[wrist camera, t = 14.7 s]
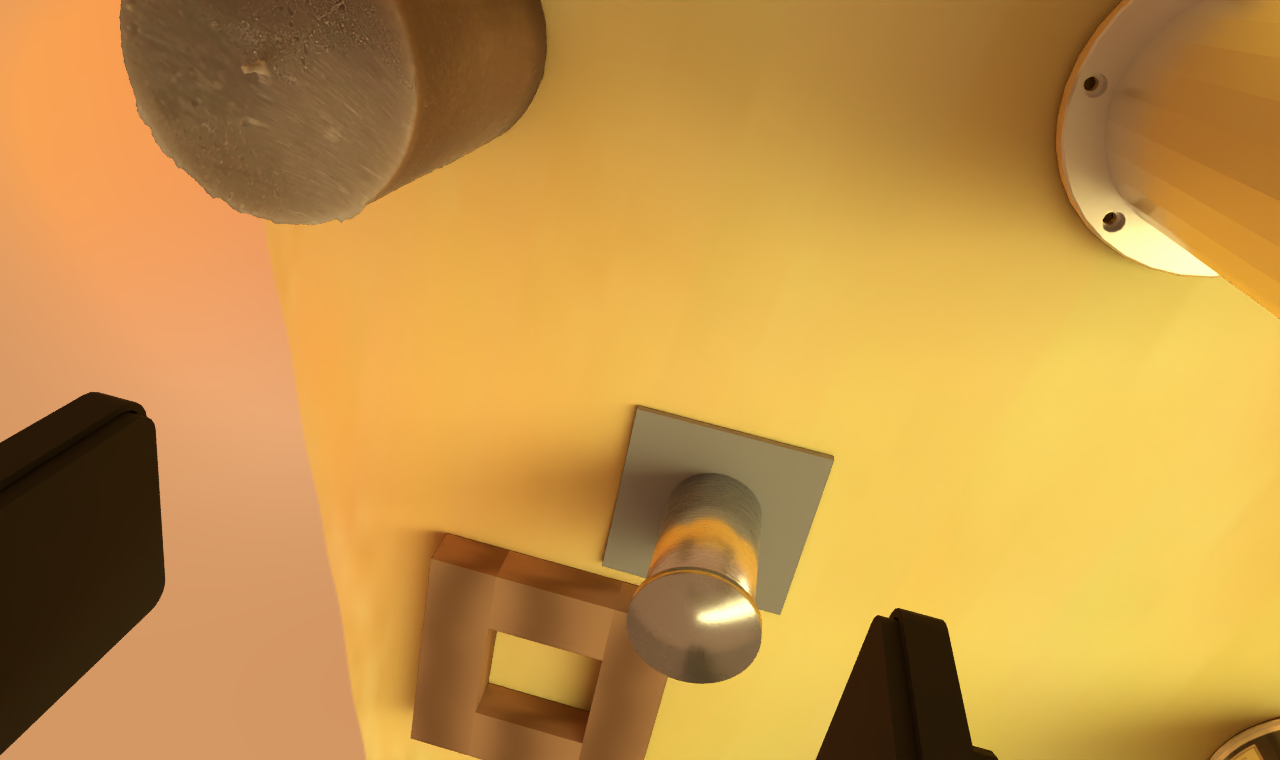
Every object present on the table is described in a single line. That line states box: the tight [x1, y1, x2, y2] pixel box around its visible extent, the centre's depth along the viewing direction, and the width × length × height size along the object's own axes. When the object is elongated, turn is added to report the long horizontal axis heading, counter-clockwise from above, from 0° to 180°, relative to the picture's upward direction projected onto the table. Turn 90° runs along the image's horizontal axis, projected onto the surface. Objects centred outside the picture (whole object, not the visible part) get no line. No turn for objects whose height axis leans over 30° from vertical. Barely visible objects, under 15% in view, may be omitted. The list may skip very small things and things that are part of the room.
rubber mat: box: [602, 406, 834, 615], centre depth 46 cm, size 10×10×1 cm
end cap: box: [626, 473, 762, 684], centre depth 41 cm, size 6×6×9 cm
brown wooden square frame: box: [411, 533, 668, 760], centre depth 51 cm, size 14×14×2 cm
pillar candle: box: [119, 0, 547, 225], centre depth 31 cm, size 10×10×15 cm
